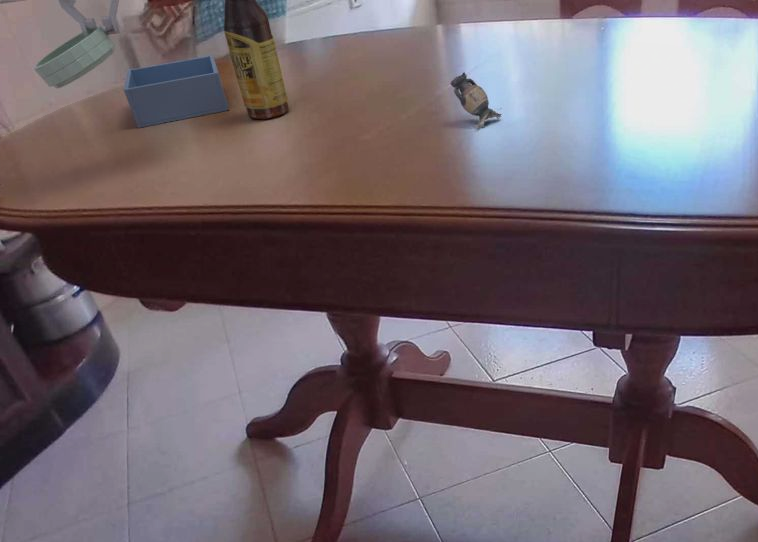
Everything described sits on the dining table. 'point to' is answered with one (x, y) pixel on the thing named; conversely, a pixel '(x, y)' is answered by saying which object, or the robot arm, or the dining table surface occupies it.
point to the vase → (473, 99)
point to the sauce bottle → (255, 59)
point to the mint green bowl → (75, 58)
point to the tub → (175, 91)
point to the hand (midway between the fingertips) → (103, 35)
